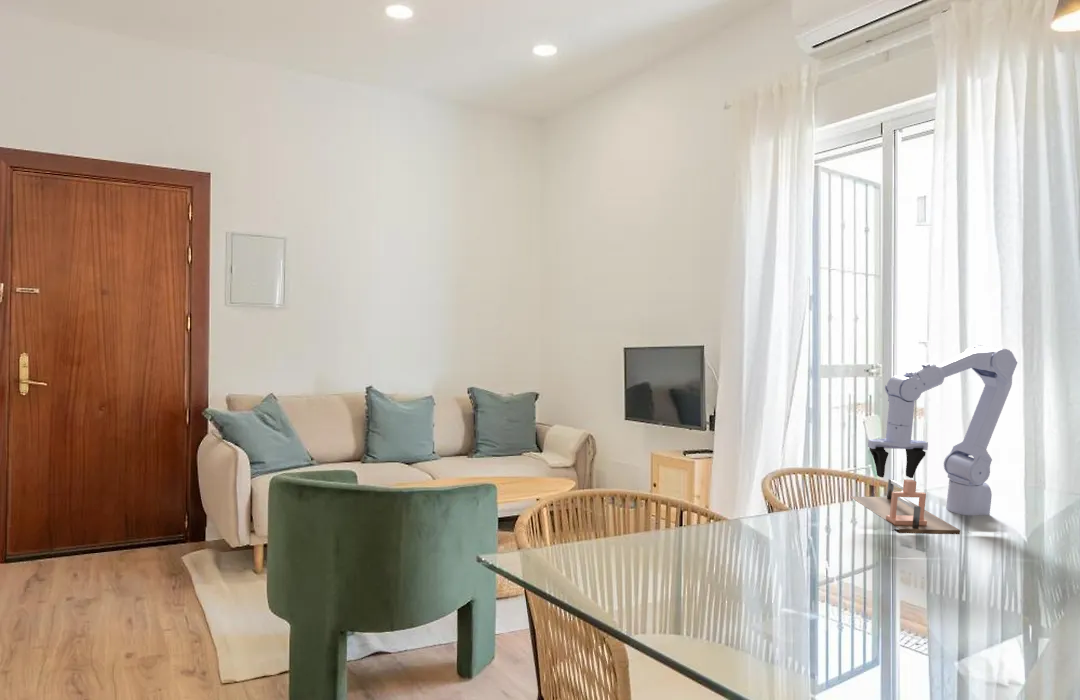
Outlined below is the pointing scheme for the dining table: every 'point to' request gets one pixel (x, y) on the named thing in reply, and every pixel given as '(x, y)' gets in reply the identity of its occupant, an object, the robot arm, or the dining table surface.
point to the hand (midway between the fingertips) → (894, 476)
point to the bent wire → (905, 502)
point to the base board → (883, 508)
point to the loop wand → (908, 491)
